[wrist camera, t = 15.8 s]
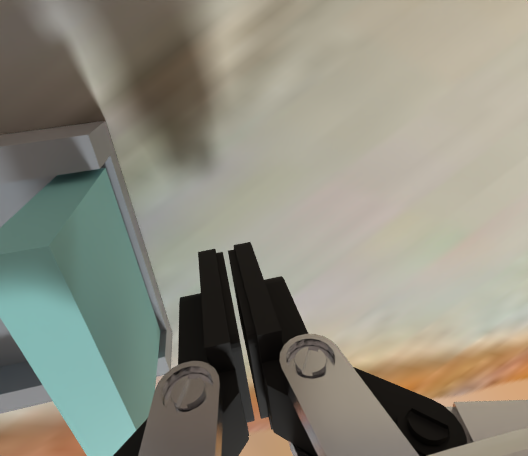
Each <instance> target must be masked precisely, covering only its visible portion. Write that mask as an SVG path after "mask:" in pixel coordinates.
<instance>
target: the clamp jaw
mask: <svg viewBox="0 0 528 456" xmlns="http://www.w3.org/2000/svg"><path fill="white" fill-rule="evenodd" d="M0 318H1V320H2V321H3V323H4V325H5V326H6V328H7V329H8V331H9V332H10V334H11V336H12V337H13V339H14V340H15V342H16V344H17V345H18V347H19V348H20V350H21V351H22V353H23V355H24V356H25V358H26V359H27V361H28V363H29V364H30V366H31V367H32V369H33V371H34V372H35V374H36V375H37V377H38V378H39V380H40V382H41V383H42V385H43V386H44V388H45V390H46V391H47V393H48V394H49V396H50V397H51V399H52V401H53V402H54V404H55V405H56V407H57V409H58V410H59V412H60V413H61V415H62V417H63V418H64V420H65V421H66V423H67V424H68V426H69V428H70V429H71V431H72V432H73V434H74V436H75V437H76V439H77V440H78V442H79V443H80V445H81V447H82V448H83V450H84V451H85V453H86V455H87V456H113V455H114V454H115V453H116V452H117V451H118V450H119V448H120V447H121V446H122V445H123V444H124V443H125V442H126V441H127V440H128V439H129V438H130V437H131V436H132V434H133V433H134V432H135V431H136V430H137V429H138V428H139V427H140V426H141V425H142V424H143V423H144V422H145V420H146V419H147V418H148V415H149V411H150V407H151V403H152V400H153V396H154V392H155V384H156V373H157V363H158V352H159V342H160V329H159V326H158V323H157V320H156V317H155V314H154V311H153V308H152V305H151V302H150V299H149V296H148V293H147V290H146V287H145V284H144V281H143V278H142V275H141V272H140V269H139V266H138V263H137V260H136V257H135V254H134V251H133V248H132V245H131V242H130V239H129V236H128V233H127V230H126V227H125V224H124V221H123V218H122V215H121V213H120V210H119V207H118V204H117V201H116V198H115V195H114V192H113V189H112V186H111V183H110V180H109V177H108V174H107V171H106V168H100V169H95V170H89V171H82V172H76V173H69V174H62V175H57V176H56V177H55V178H54V179H52V180H51V181H50V182H49V183H48V184H47V185H46V186H45V187H44V188H43V189H42V190H41V191H39V192H38V193H37V194H36V195H35V196H34V197H33V198H32V199H31V200H30V201H29V202H28V203H26V204H25V205H24V206H23V207H22V208H21V209H20V210H19V211H18V212H17V213H16V214H15V215H13V216H12V217H11V218H10V219H9V220H8V221H7V222H6V223H5V224H4V225H3V226H2V227H0Z"/></svg>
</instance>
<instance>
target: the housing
mask: <svg viewBox="0 0 528 456" xmlns="http://www.w3.org/2000/svg"><path fill="white" fill-rule="evenodd" d="M100 168H106V171H107V174H108V177H109V180H110V183H111V186H112V189H113V192H114V195H115V198H116V201H117V204H118V207H119V210H120V213H121V215H122V218H123V221H124V224H125V227H126V230H127V233H128V236H129V239H130V242H131V245H132V248H133V251H134V254H135V257H136V260H137V263H138V266H139V269H140V272H141V275H142V278H143V281H144V284H145V287H146V290H147V293H148V296H149V299H150V302H151V305H152V308H153V311H154V314H155V317H156V320H157V323H158V326H159V329H160V342H159V352H158V363H157V373H156V377H157V376H161V375H165V374H166V373H167V372H168V371H169V370H171V353H172V331H171V328H170V324H169V321H168V318H167V315H166V312H165V308H164V305H163V302H162V299H161V296H160V293H159V289H158V286H157V283H156V280H155V277H154V273H153V270H152V267H151V264H150V261H149V258H148V254H147V251H146V248H145V245H144V242H143V238H142V235H141V232H140V229H139V226H138V223H137V219H136V216H135V213H134V210H133V207H132V203H131V200H130V197H129V194H128V191H127V187H126V184H125V181H124V178H123V175H122V172H121V168H120V165H119V162H118V159H117V156H116V152H115V149H114V146H113V143H112V140H111V137H110V133H109V130H108V127H107V124H106V121H100V122H92V123H85V124H77V125H70V126H62V127H55V128H47V129H40V130H32V131H25V132H17V133H10V134H2V135H0V227H2V226H3V225H4V224H5V223H6V222H7V221H8V220H9V219H10V218H11V217H12V216H13V215H15V214H16V213H17V212H18V211H19V210H20V209H21V208H22V207H23V206H24V205H25V204H26V203H28V202H29V201H30V200H31V199H32V198H33V197H34V196H35V195H36V194H37V193H38V192H39V191H41V190H42V189H43V188H44V187H45V186H46V185H47V184H48V183H49V182H50V181H51V180H52V179H54V178H55V177H56V176H57V175H62V174H69V173H76V172H82V171H89V170H95V169H100ZM51 401H52V399H51V397H50V396H49V394H48V393H47V391H46V390H45V388H44V386H43V385H42V383H41V382H40V380H39V378H38V377H37V375H36V374H35V372H34V371H33V369H32V367H31V366H30V364H29V363H28V361H27V359H26V358H25V356H24V355H23V353H22V351H21V350H20V348H19V347H18V345H17V344H16V342H15V340H14V339H13V337H12V336H11V334H10V332H9V331H8V329H7V328H6V326H5V325H4V323H3V321H2V320H1V318H0V413H5V412H9V411H13V410H17V409H22V408H26V407H30V406H34V405H39V404H43V403H47V402H51Z"/></svg>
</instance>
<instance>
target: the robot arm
mask: <svg viewBox="0 0 528 456" xmlns="http://www.w3.org/2000/svg"><path fill="white" fill-rule="evenodd" d="M228 254H229V260H230V265H231V271H232V276H233V282H234V288H235V293H236V299H237V305H238V310H239V316H240V321H241V326H242V331H243V335H244V340H245V345H246V350H247V355H248V359H249V364H250V369H251V374H252V378H253V383H254V388H255V393H256V397H257V402H258V407H259V412H260V416H261V419H262V418H266V417H269V421H270V425H271V430H272V429H273V431H274V433H276V434H278V435H279V436H281V437H282V438H284V439H286V440H287V441H289V445H290V448H291V451H292V454H293V456H528V400H513V401H512V400H510V401H479V402H478V401H475V402H454V404H453V407H444V406H443V405H441V404H439V403H437V402H436V401H434V400H432V399H429V398H427V397H424V396H422V395H420V394H417V393H415V392H412V391H410V390H408V389H405V388H403V387H400V386H398V385H395V384H393V383H391V382H388V381H386V380H383V379H381V378H379V377H376V376H374V375H371V374H369V373H366V372H364V371H362V370H359V369H357V368H354V367H352V365H351V364H350V363H349V361H348V360H347V358H346V357H345V356H344V354H343V353H342V352H341V350H340V349H339V348H338V347H337V346H336V345H335V344H334V343H333V342H332V341H331V340H329V339H328V338H326V337H324V336H320V335H317V334H308V332H307V330H306V328H305V325H304V323H303V321H302V319H301V316H300V314H299V312H298V310H297V307H296V305H295V303H294V301H293V298H292V296H291V294H290V292H289V289H288V287H287V285H286V283H285V280H284V279H283V277H282V276H281V277H276V278H271V279H266V280H264V279H263V276H262V273H261V271H260V268H259V265H258V262H257V259H256V256H255V254H254V251H253V248H252V245H251V243H250V242H248V243H243V244H237V245H234V250H230V251H228ZM198 257H199V271H200V286H201V293H200V294H195V295H190V296H185V297H181V298H180V305H179V352H178V365H177V366H175V367H173V368H172V369H171V370H169V371H168V372H167V373H166V374H165V375H164V376H163V377H162V378H161V380H160V381H159V382H158V385H157V387H156V389H155V392H154V396H153V400H152V403H151V407H150V411H149V415H148V418H147V419H146V420H145V422H144V423H143V424H142V425H141V426H140V427H139V428H138V429H137V430H136V431H135V432H134V433H133V434H132V436H131V437H130V438H129V439H128V440H127V441H126V442H125V443H124V444H123V445H122V446H121V447H120V448H119V450H118V451H117V452H116V453H115V454H114V455H113V456H239V454H240V452H241V451H242V449H243V448H244V446H245V445H246V443H247V441H248V440H249V437H248V436H249V432H248V426H247V422H251V421H254V414H253V409H252V404H251V398H250V393H249V387H248V382H247V377H246V371H245V366H244V360H243V355H242V350H241V344H240V339H239V334H238V329H237V323H236V318H235V313H234V308H233V303H232V298H231V292H230V287H229V282H228V277H227V272H226V267H225V261H224V256H223V252H220V253H216V250H215V249H212V250H206V251H201V252H198Z"/></svg>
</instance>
